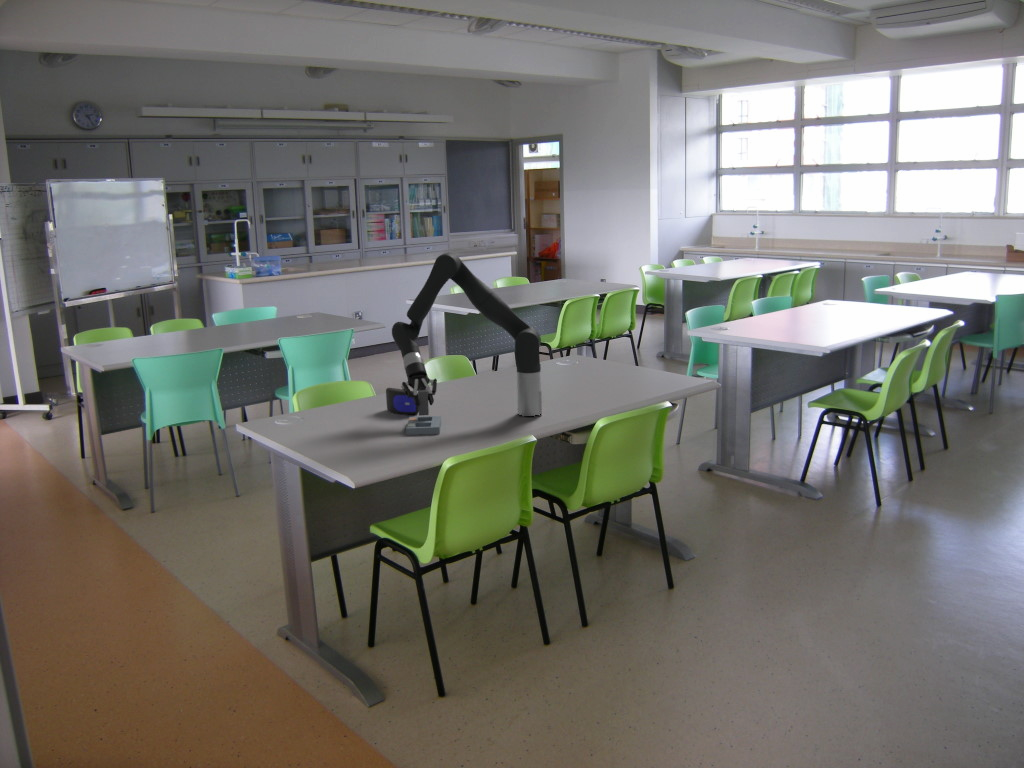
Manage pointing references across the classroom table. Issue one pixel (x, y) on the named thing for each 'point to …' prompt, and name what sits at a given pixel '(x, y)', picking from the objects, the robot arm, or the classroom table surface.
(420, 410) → the dark gray upright block
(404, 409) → the leaning round-cornered charcoal block
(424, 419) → the socket strip
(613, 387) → the classroom table surface
